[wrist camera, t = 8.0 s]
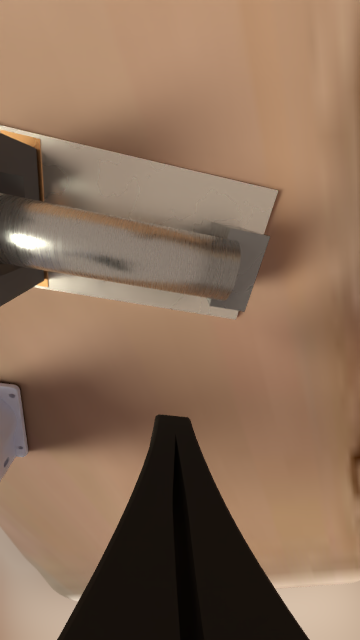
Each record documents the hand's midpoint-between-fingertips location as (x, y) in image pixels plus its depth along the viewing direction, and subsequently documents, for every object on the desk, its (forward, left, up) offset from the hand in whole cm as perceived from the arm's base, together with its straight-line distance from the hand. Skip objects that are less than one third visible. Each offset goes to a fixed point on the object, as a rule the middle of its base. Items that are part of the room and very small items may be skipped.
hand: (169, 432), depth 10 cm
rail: (+6, +6, -10) cm, 13 cm away
